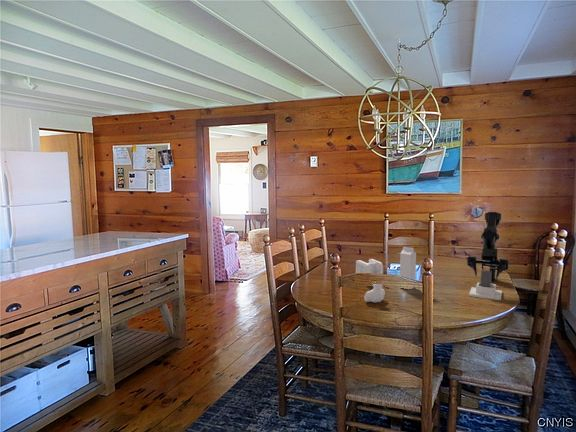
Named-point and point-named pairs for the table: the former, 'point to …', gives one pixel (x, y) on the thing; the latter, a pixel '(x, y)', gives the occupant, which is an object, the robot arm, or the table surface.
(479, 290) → the end holder
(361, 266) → the cable organizer
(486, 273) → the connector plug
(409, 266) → the milk
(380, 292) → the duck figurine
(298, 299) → the table surface
